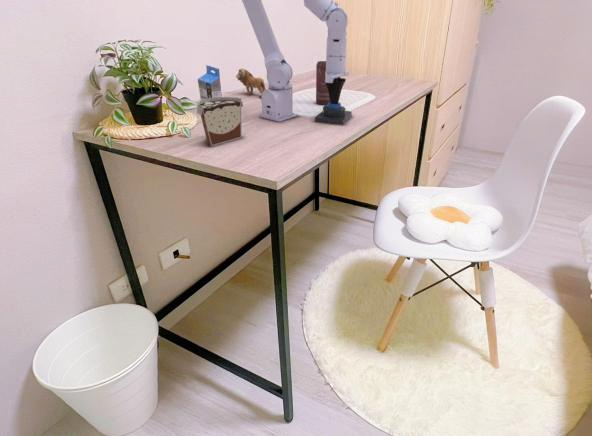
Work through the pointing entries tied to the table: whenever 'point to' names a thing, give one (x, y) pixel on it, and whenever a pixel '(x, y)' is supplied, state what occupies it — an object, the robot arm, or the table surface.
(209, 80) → the tape cartridge
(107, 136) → the table surface
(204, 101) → the food container
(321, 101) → the can
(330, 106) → the blue button cap
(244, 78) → the lion figurine
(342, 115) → the button base
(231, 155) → the table surface
